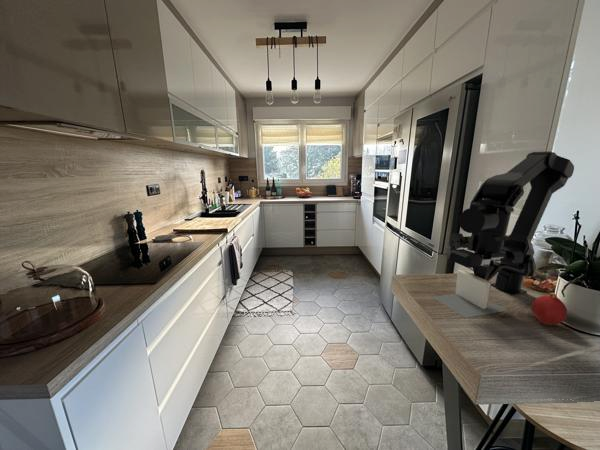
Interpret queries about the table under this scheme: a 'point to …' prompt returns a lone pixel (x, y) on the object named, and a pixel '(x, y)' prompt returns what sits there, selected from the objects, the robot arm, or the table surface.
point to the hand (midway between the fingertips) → (479, 286)
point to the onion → (549, 309)
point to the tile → (473, 288)
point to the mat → (467, 306)
